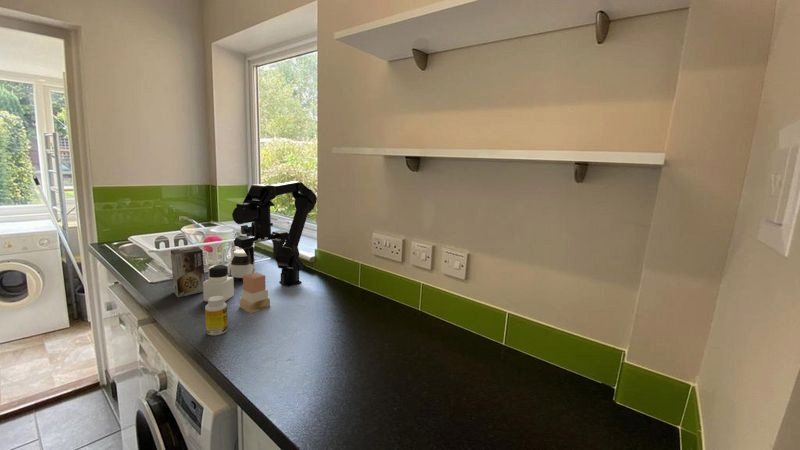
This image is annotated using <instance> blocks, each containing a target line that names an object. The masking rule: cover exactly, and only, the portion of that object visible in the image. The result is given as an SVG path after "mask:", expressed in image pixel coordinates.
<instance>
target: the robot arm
mask: <svg viewBox="0 0 800 450" xmlns="http://www.w3.org/2000/svg"><path fill="white" fill-rule="evenodd" d="M287 194H291V196H292V197H293V198H294V207H295V212H294V215H293V218H292V222H291V225H290V227H289V228H290V229H289V231H286V230H281V229H280V230H274V231H272V226H274V224H273V222H272V221H271V219H272V218H271V217H272V216H271V207H274V206H275V203H274V202H273V200H274V199H276V198H277V197H278V196H281V195H287ZM317 202H318V197H317V195H316V193H314V191H313V190H312V189H310V188H309V187H308V186H306V185H305V184H304V182H302V181H301V180H300V181H299V180H298V181H296V180H291V181H288V182H281V183H275V184H257V183H253V184H251V185H250V187H249V190H248V192H247V194H246V196H245V198H244V199H243V201H242V203H236V207H234V209H233V211H232V214H231V215H232V216H231V217H232V219H233V221H234V223H235V224H237V225H241V226H240V233H241V235H242V236H238V237H235V238H234V240H233V245H234V246H235V247H238V249H243V250H244V251H245V253H246V255H247V257H248V259H249V261H250V264H253V262H254V259H255V247H254V246H253V245H254V244H255V243H261V242H265V241H271V242H272V248H273V251H272V256H273V259H275V261H276V262H275V263H276V265H277V268H278V269H281V272H280V280H279V284H282V285H284V286H285V287H286V286H287V287H291V286H295V285H298V284H302V281H301V280H300V271H301V270H303V266H304V263H303V262H302V261H301V259H300V250H299V247H298V246H299V243H300V241H301V237H302V234H303V230H304V227H305V224H306V221H307V218H308V215H309V213H311V211H312V210H313V209H314V208H315V206H316V203H317ZM249 223H251V226H248V224H249Z"/></svg>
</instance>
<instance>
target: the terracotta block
mask: <svg viewBox="0 0 800 450" xmlns="http://www.w3.org/2000/svg"><path fill="white" fill-rule="evenodd" d="M242 285H243V286H242V288H243V289H242V290H245V291H247V292H249V293H252V294H253V293H256V292H259V291H263V290H266V289H267V288H266V275H264V274H262V273H259V272H256V271H255V273H252V274H248V275H244V276H243V281H242Z"/></svg>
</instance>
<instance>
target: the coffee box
mask: <svg viewBox="0 0 800 450" xmlns="http://www.w3.org/2000/svg"><path fill="white" fill-rule="evenodd" d="M170 258H171V271H172V286H173V294H174V295H176V297H177V298H182V297H186V296H191V295H196V294H200V293H203V282H204V281H206V280H205V264H204V251H203V249H201V247H199V246H195V247H194V246H193V247H191V246H190V247H184V248H177V249H170Z"/></svg>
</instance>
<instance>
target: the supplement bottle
mask: <svg viewBox="0 0 800 450" xmlns="http://www.w3.org/2000/svg"><path fill="white" fill-rule="evenodd" d="M204 311H205V312H204V313H205V316H204V317H205V332H206V334H207V335H209V336H219V335H220V336H221V335H223V334H225V333H226V332H227V331H228V328H229V326H228V323H229V322H228V304H227V303H226V301H225V302H224V297H223V296H213V297H210V298H209V299H208V301H207V304H206V305H205V307H204Z"/></svg>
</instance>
